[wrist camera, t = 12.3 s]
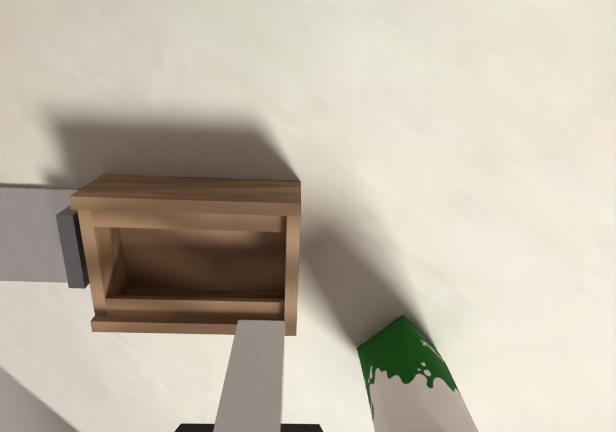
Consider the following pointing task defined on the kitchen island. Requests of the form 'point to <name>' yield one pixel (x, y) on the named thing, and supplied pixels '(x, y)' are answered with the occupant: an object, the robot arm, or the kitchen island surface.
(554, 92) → the kitchen island surface
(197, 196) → the box
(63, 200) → the cover plate
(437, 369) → the milk carton
